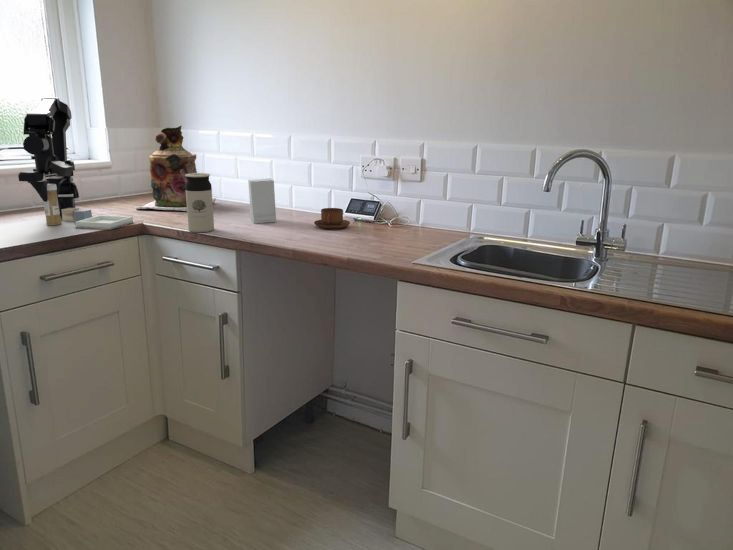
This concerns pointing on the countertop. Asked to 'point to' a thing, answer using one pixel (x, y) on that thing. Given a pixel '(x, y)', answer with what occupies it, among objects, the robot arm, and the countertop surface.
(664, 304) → the countertop surface
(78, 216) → the slate block
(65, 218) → the birch block
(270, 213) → the skincare box
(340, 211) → the cup and saucer
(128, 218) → the sage tray
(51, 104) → the robot arm
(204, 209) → the travel mug
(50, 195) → the sprinkles bottle
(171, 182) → the cookie jar
